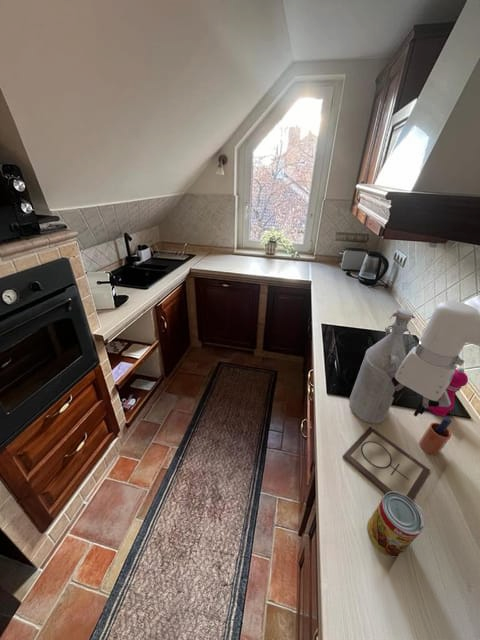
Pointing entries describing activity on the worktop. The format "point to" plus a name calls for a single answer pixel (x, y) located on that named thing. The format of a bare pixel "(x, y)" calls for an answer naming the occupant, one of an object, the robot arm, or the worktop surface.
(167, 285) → the worktop surface
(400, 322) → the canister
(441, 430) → the marker
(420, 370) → the robot arm
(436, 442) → the pen cup
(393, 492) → the canned food
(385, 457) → the framed female symbol sign
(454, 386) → the pepper mill
